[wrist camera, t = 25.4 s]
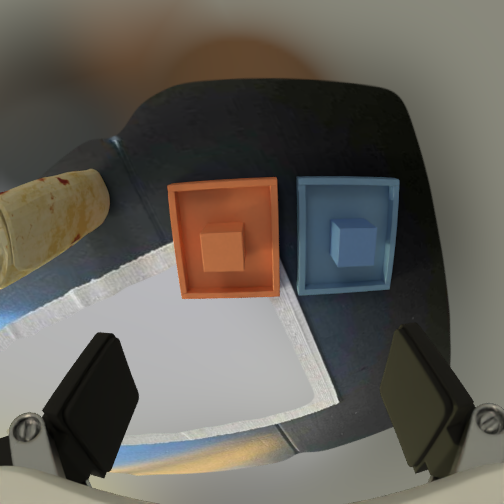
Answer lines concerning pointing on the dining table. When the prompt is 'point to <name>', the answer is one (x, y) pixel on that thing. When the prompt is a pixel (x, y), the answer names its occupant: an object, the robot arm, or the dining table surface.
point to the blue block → (352, 242)
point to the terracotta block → (223, 247)
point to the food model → (48, 219)
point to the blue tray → (344, 207)
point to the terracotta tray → (222, 211)
